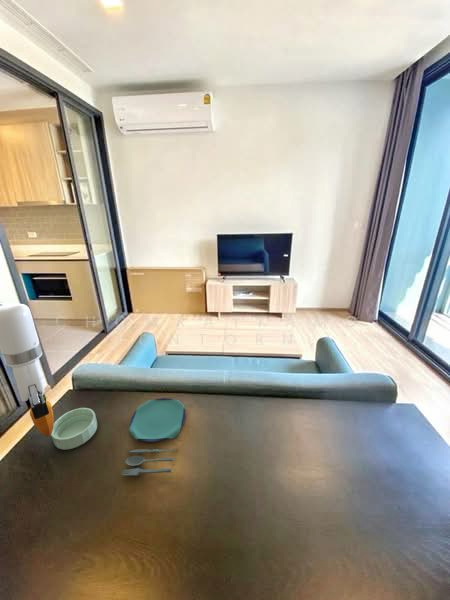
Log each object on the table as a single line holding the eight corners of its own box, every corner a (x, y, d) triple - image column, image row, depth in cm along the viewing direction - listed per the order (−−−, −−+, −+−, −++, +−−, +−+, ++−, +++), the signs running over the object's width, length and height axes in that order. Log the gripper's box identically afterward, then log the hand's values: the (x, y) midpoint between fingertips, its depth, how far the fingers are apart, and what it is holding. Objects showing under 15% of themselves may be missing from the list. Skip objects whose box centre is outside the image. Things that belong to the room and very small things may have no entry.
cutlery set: (189, 401, 101) (188, 396, 100) (177, 476, 73) (177, 470, 72) (139, 402, 100) (139, 397, 99) (109, 478, 72) (107, 472, 71)
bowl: (57, 458, 78) (53, 447, 76) (51, 431, 88) (48, 420, 86) (102, 435, 86) (99, 424, 84) (92, 412, 95) (89, 402, 94)
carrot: (55, 425, 75) (42, 385, 70) (62, 434, 72) (50, 392, 67) (35, 437, 71) (21, 395, 66) (43, 446, 69) (28, 403, 63)
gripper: (3, 344, 66) (22, 398, 72) (3, 375, 54) (26, 438, 60) (37, 335, 70) (52, 387, 77) (45, 362, 58) (62, 422, 65)
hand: (40, 409), depth 68 cm, fingers closed on carrot, 4 cm apart
